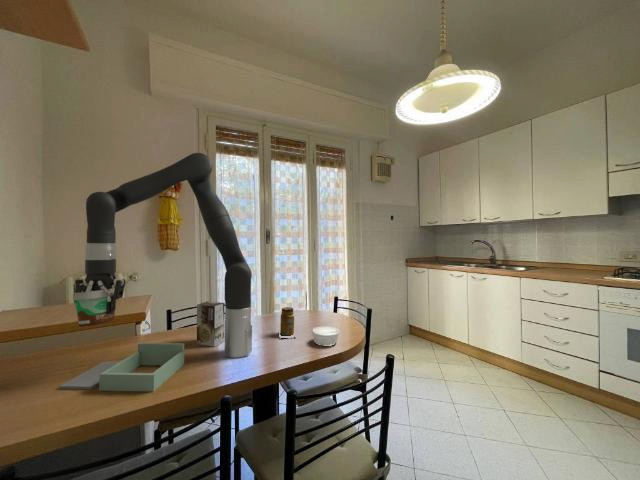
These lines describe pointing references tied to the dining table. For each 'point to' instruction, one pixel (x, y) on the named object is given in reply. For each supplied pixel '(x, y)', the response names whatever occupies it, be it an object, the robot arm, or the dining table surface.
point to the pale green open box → (146, 355)
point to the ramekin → (325, 335)
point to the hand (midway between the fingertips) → (100, 312)
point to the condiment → (287, 322)
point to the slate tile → (88, 377)
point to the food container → (92, 308)
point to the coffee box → (210, 323)
